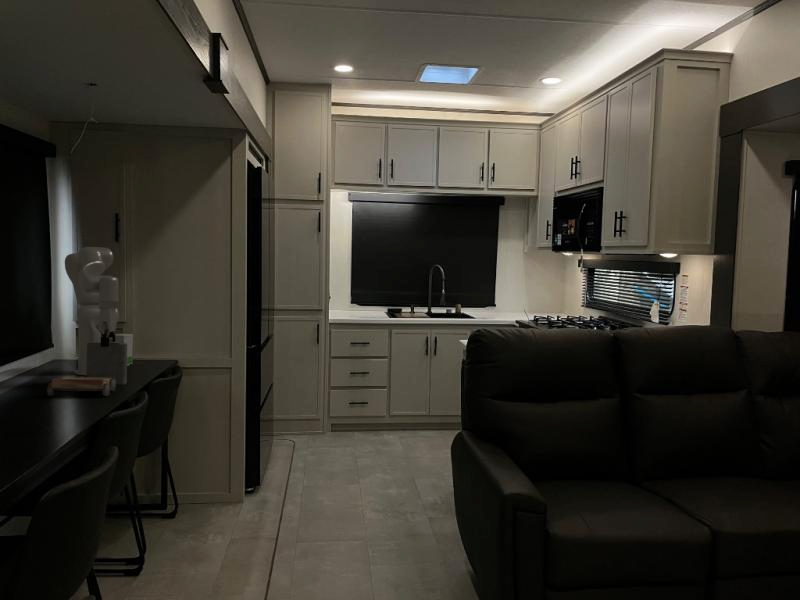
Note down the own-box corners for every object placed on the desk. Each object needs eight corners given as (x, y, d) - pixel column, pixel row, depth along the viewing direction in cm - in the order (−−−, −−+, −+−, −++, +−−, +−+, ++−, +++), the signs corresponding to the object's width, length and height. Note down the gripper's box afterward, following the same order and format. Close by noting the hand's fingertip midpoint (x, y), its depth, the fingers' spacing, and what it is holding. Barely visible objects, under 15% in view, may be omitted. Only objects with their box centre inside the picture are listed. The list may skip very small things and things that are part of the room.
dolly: (60, 389, 243) (60, 372, 242) (115, 389, 247) (116, 372, 246) (47, 397, 229) (47, 379, 228) (106, 397, 233) (106, 379, 233)
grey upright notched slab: (85, 384, 253) (86, 337, 252) (88, 382, 257) (88, 336, 256) (125, 384, 257) (126, 338, 256) (127, 382, 261) (128, 337, 260)
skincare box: (123, 367, 294) (124, 335, 293) (110, 366, 295) (111, 334, 294) (133, 364, 302) (133, 333, 301) (120, 363, 303) (121, 332, 302)
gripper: (104, 304, 263) (104, 342, 263) (93, 306, 246) (92, 347, 246) (123, 304, 264) (122, 342, 265) (112, 307, 247) (112, 348, 248)
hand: (108, 345), depth 256 cm, fingers open, 9 cm apart
